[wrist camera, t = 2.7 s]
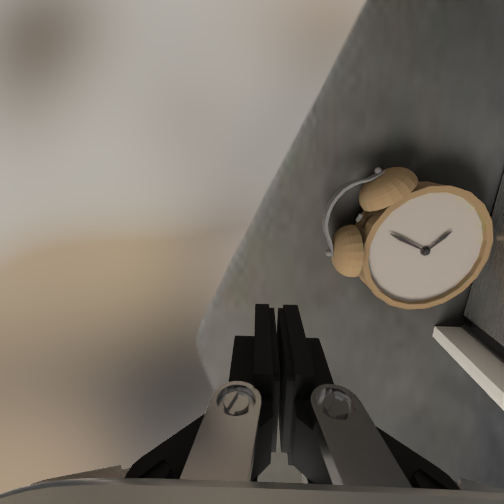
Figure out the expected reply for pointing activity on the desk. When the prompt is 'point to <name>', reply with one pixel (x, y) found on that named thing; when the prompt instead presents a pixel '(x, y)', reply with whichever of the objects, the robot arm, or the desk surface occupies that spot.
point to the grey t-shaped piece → (490, 286)
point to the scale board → (475, 358)
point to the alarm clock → (411, 238)
